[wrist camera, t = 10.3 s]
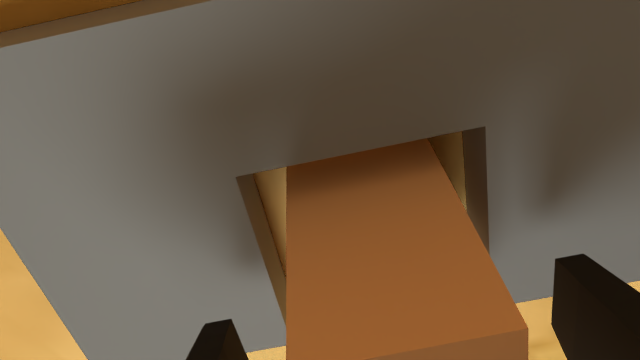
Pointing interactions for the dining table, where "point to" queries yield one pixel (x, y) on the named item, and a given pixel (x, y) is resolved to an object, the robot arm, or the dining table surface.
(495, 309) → the copper block
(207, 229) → the notched board
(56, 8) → the dining table surface
